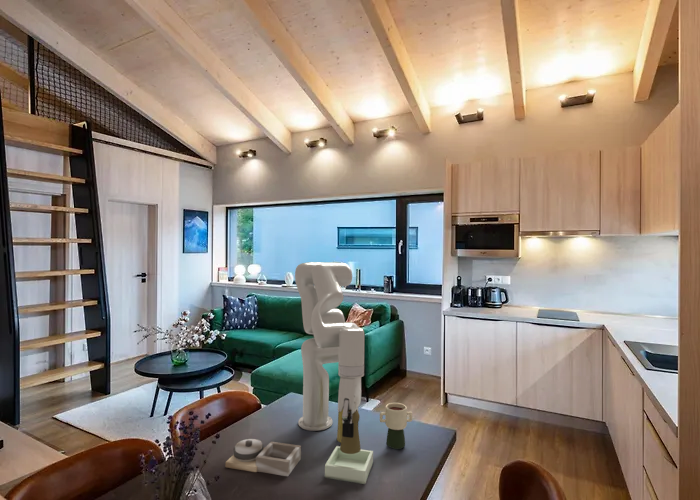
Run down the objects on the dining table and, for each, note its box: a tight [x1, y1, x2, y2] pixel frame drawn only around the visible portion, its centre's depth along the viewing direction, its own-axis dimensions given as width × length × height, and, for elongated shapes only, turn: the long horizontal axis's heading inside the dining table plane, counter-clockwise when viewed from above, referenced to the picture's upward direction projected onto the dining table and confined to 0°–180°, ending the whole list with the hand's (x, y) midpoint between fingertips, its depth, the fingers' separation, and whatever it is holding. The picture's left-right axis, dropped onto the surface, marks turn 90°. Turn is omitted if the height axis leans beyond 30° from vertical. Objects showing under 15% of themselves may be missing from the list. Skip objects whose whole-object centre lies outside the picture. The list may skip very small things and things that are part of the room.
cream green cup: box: [379, 402, 413, 450], centre depth 130 cm, size 11×7×13 cm, turn 95°
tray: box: [324, 445, 374, 485], centre depth 115 cm, size 12×12×4 cm
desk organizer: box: [225, 438, 302, 477], centre depth 119 cm, size 11×20×6 cm, turn 76°
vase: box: [336, 410, 343, 444], centre depth 134 cm, size 6×6×14 cm
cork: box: [340, 410, 362, 454], centre depth 115 cm, size 6×6×11 cm
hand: (350, 431), depth 115 cm, fingers closed on cork, 5 cm apart
